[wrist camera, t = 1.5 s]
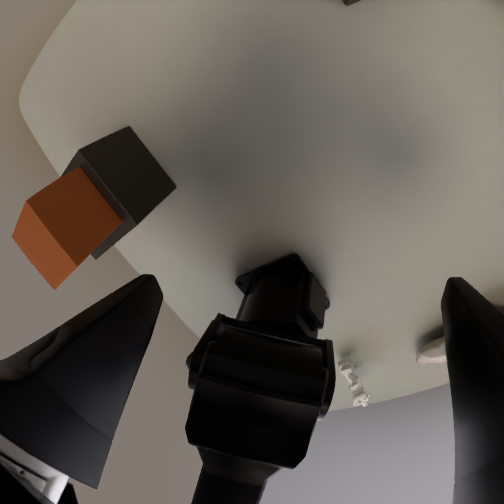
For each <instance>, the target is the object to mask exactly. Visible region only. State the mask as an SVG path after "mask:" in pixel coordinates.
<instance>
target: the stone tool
mask: <svg viewBox="0 0 504 504" xmlns="http://www.w3.org/2000/svg"><path fill="white" fill-rule="evenodd" d="M416 361H417V363H429V362H447V360H446V353H445V341H444V337H441V338H438V339H435V340H433V341H431V342H430V343H428V344H426V345H425V346H423V347H422V348H421V349H419V350H418V351H417V355H416Z"/></svg>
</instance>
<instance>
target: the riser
mask: <svg viewBox="0 0 504 504" xmlns="http://www.w3.org/2000/svg"><path fill="white" fill-rule="evenodd" d="M78 166H80V167H81V169H82V170H83V171H84V173H85V174H86V175H87V177H88V178H89V179H90V180H91V182H92V183H93V184H94V186H95V187H96V188H97V190H98V191H99V192H100V193H101V195H102V196H103V197H104V198H105V200H106V201H107V202H108V203H109V205H110V206H111V207H112V208H113V210H114V211H115V212H116V213H117V215H118V216H119V217H120V218H121V219H122V221H123V222H122V223H121V224H120V225H119V226H118V227H117V228H116V229H115V230H114V231H113V232H112V233H111V234H110V235H109V236H108V237H107V238H106V239H105V240H104V241H103V242H102V243H100V244H99V245H98V246H97V247H96V249H95V250H94V251H93V252H92V253H91V255H92V256H93V257H94V258H95V259H97V258H98V257H100V256H101V255H102V254H103V253H104V252H106V251H107V250H108V249H109V248H110V247H111V246H113V245H114V244H115V243H116V242H117V241H119V240H120V239H121V238H122V237H123V236H125V235H126V234H127V233H128V232H129V231H131V230H132V229H133V228H134V227H136V226H137V225H138V224H139V223H140V222H141V221H142V220H143V219H144V218H145V217H146V216H147V215H148V214H149V213H150V212H151V211H152V210H153V209H154V208H155V207H156V206H157V205H159V204H160V203H161V202H162V201H163V200H164V199H165V198H166V197H167V196H168V195H169V194H170V193H171V192H172V191H174V190H175V189H176V186H175V185H174V183H173V182H172V181H171V179H170V178H169V177H168V176H167V174H166V173H165V172H164V171H163V169H162V168H161V167H160V165H159V164H158V163H157V162H156V160H155V159H154V158H153V157H152V155H151V154H150V153H149V151H148V150H147V149H146V148H145V146H144V145H143V144H142V142H141V141H140V140H139V139H138V137H137V136H136V135H135V133H134V132H133V131H132V129H131V128H130V127H129V126H128V127H126V128H123V129H121V130H119V131H116V132H114V133H112V134H110V135H108V136H106V137H103V138H101V139H99V140H97V141H95V142H93V143H91V144H89V145H87V146H85V147H83V148H81V149H79V150H78V151H77V153H76V154H75V156H74V157H73V159H72V160H71V162H70V163H69V165H68V166H67V168H66V169H65V171H64V173H63V174H62V176H64V175H65V174H67V173H68V172H70V171H72V170H73V169H75V168H77V167H78ZM62 176H61V177H62Z"/></svg>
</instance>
